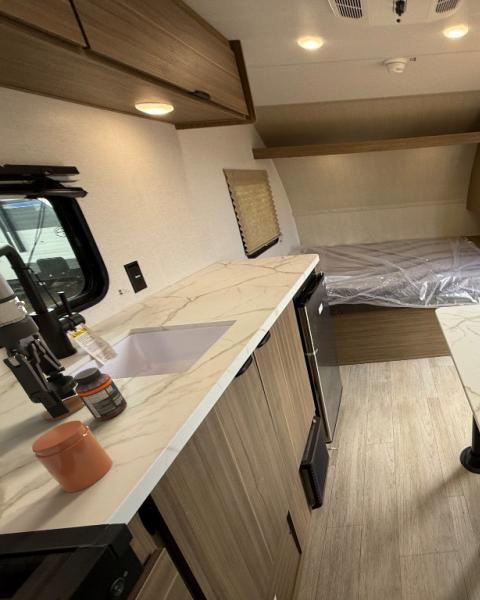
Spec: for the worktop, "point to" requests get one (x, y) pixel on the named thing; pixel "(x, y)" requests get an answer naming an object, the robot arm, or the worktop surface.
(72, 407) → the coaster
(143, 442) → the worktop surface
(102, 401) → the supplement bottle
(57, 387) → the jam lid
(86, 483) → the jam jar
